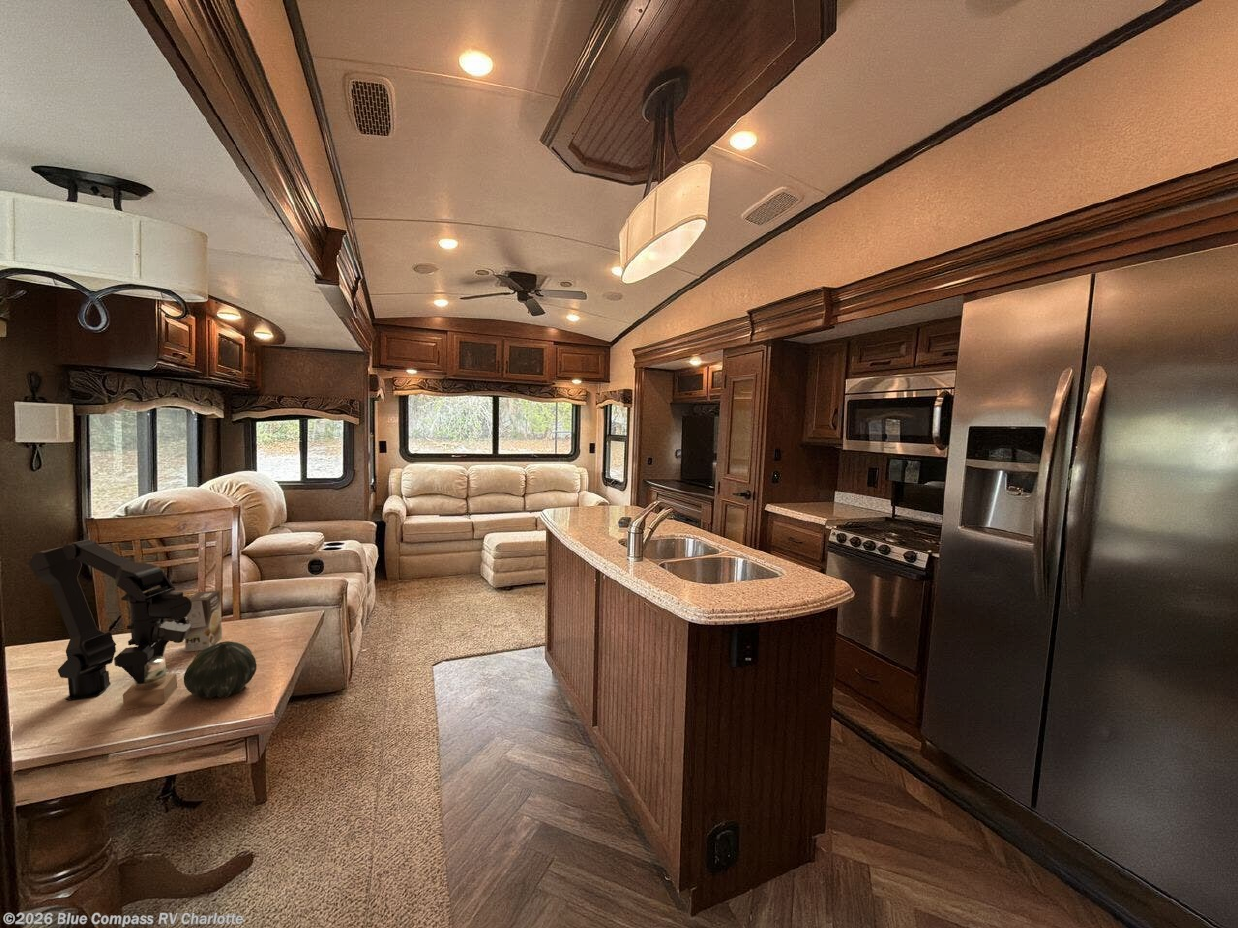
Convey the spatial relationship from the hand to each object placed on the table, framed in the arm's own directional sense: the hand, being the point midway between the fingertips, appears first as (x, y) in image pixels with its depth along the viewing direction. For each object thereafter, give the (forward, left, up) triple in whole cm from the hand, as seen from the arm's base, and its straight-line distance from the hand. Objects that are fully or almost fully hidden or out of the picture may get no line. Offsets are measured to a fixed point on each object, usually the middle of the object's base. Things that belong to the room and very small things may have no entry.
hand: (149, 674), depth 130 cm
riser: (0, 0, -6) cm, 6 cm away
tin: (0, 0, -2) cm, 2 cm away
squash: (+16, -2, -7) cm, 17 cm away
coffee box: (+2, +32, -7) cm, 33 cm away
